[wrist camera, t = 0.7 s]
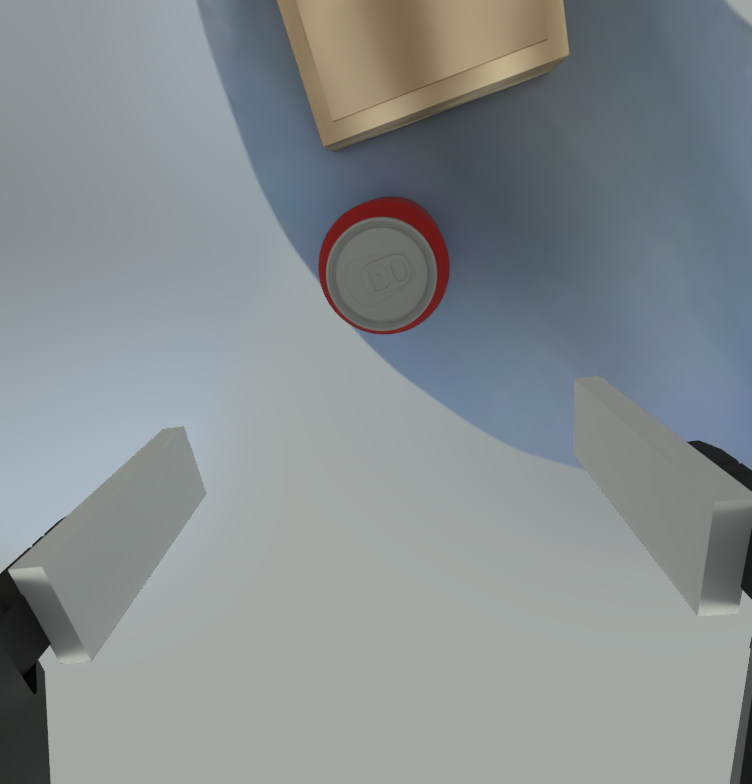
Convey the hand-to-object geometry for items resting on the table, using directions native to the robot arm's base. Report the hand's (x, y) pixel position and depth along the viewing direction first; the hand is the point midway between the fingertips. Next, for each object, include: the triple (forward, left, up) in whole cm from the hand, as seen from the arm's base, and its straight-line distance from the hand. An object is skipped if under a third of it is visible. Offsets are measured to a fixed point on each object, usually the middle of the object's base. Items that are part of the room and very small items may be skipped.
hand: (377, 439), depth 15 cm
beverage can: (-1, -4, -21) cm, 21 cm away
